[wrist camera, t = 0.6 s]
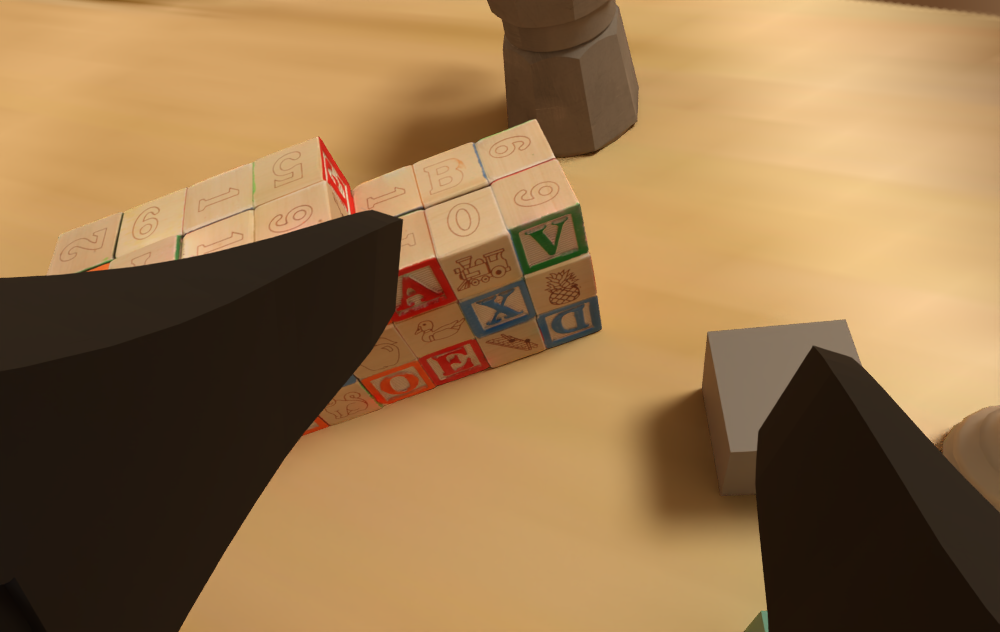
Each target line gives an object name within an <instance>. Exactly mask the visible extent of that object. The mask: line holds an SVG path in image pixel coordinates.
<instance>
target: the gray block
mask: <svg viewBox="0 0 1000 632" xmlns="http://www.w3.org/2000/svg"><path fill="white" fill-rule="evenodd" d="M812 346H817V347H820V348H823V349H826V350H830V351H833V352H836V353H839V354H843V355H846V356H849V357H852V358H853V359H854V360H855V361H857V362H858V363H859V364H860V365H861V362H860V359H859V356H858V354H857V351H856V348H855V345H854V342H853V339H852V337H851V334H850V331H849V328H848V325H847V322H846V320H834V321H823V322H812V323H801V324H790V325H778V326H767V327H756V328H745V329H734V330H723V331H711V332H707V342H706V352H705V362H704V372H703V382H702V392H703V398H704V403H705V409H706V415H707V420H708V426H709V432H710V438H711V443H712V449H713V455H714V461H715V466H716V472H717V478H718V484H719V489H720V495H721V496H729V495H756V488H755V476H756V455H757V441H758V431H759V429H760V428H761V426H762V425H763V423H764V421H765V420H766V418H767V417H768V415H769V414H770V412H771V410H772V409H773V407H774V406H775V404H776V403H777V401H778V400H779V398H780V396H781V395H782V393H783V392H784V390H785V389H786V387H787V385H788V384H789V382H790V381H791V379H792V378H793V376H794V374H795V373H796V371H797V370H798V368H799V367H800V365H801V363H802V362H803V360H804V359H805V357H806V356H807V354H808V353H809V351H810V349H811V348H812ZM861 366H862V365H861Z"/></svg>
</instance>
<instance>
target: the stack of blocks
mask: <svg viewBox="0 0 1000 632" xmlns="http://www.w3.org/2000/svg"><path fill="white" fill-rule="evenodd" d="M367 210H375V211H378V212H381V213H385V214H388V215H391V216H394V217H398V218H401V219H403V228H402V239H401V251H400V263H399V274H398V286H397V297H396V309H395V312H394V314H393V316H392V318H391V319H390V321H389V323H388V325H387V326H386V328H385V330H384V331H383V333H382V335H381V336H380V338H379V340H378V341H377V343H376V344H375V346H374V348H373V349H372V351H371V352H370V353H369V355H368V356H367V357H366V358H365V360H364V361H363V362H362V363H361V365H360V366H359V367H358V368H357V370H356V371H355V372H354V373H353V375H352V376H351V377H350V378H349V379H348V381H347V382H346V383H345V384H344V386H343V387H342V388H341V389H340V390H339V392H338V393H337V394H336V395H335V396H334V398H333V399H332V400H331V401H330V402H329V404H328V405H327V406H326V407H325V408H324V410H323V411H322V412H321V413H320V414H319V416H318V417H317V418H316V419H315V421H314V422H313V423H312V424H311V425H310V427H309V428H308V429H307V430H306V431H305V433H304V434H303V435H306V434H309V433H311V432H314V431H317V430H320V429H323V428H326V427H328V426H331V425H335V424H338V423H341V422H344V421H347V420H350V419H353V418H356V417H359V416H362V415H365V414H367V413H370V412H373V411H376V410H379V409H381V408H382V407H383V406H384V405H387V404H390V403H394V402H396V401H398V400H401V399H404V398H407V397H410V396H413V395H416V394H419V393H421V392H424V391H427V390H430V389H433V388H435V387H436V386H437V385H442V384H444V383H447V382H450V381H453V380H457V379H459V378H462V377H465V376H467V375H470V374H473V373H476V372H479V371H482V370H485V369H487V368H488V367H492V368H495V367H498V366H501V365H504V364H506V363H509V362H512V361H515V360H518V359H521V358H524V357H527V356H529V355H532V354H535V353H538V352H541V351H543V350H545V349H547V348H551V347H555V346H558V345H560V344H563V343H566V342H569V341H572V340H574V339H577V338H580V337H583V336H586V335H588V334H591V333H594V332H597V331H599V330H601V329H602V324H601V318H600V311H599V305H598V298H597V295H596V293H597V290H596V283H595V277H594V271H593V265H592V260H591V256H590V253H589V251H588V243H587V238H586V232H585V227H584V222H583V217H582V212H581V207H580V203H579V201H578V199H577V197H576V195H575V193H574V191H573V189H572V187H571V185H570V183H569V181H568V179H567V177H566V176H565V173H564V171H563V169H562V167H561V165H560V163H559V161H558V160H557V159H556V158H555V156H554V154H553V152H552V150H551V147H550V145H549V143H548V141H547V139H546V138H545V136H544V134H543V131H542V130H541V128H540V126H539V124H538V122H537V120H536V119H533V120H529V121H527V122H525V123H522V124H520V125H517V126H515V127H512V128H509V129H507V130H504V131H502V132H499V133H496V134H493V135H491V136H488V137H485V138H483V139H480V140H479V141H478V142H476V143H473V142H470V143H467V144H464V145H461V146H459V147H456V148H453V149H451V150H448V151H445V152H443V153H440V154H437V155H435V156H432V157H429V158H426V159H424V160H421V161H419V162H416V163H415V164H413V165H408V166H405V167H402V168H399V169H397V170H394V171H391V172H389V173H386V174H384V175H381V176H379V177H376V178H374V179H371V180H369V181H366V182H364V183H361V184H360V185H358V186H357V187H355V188H354V189H353V190H352V191H351V190H350V186H349V184H348V182H347V180H346V178H345V177H344V175H343V174H342V172H341V171H340V169H339V168H338V166H337V164H336V163H335V161H334V160H333V158H332V156H331V154H330V153H329V151H328V150H327V148H326V146H325V145H324V143H323V141H322V140H321V139H320V137H315V138H312V139H309V140H307V141H304V142H301V143H299V144H296V145H293V146H291V147H288V148H285V149H283V150H280V151H278V152H275V153H272V154H270V155H267V156H265V157H262V158H260V159H257V160H256V161H254V162H253V163H248V164H245V165H242V166H239V167H236V168H234V169H231V170H229V171H226V172H224V173H221V174H219V175H216V176H214V177H211V178H208V179H205V180H203V181H200V182H198V183H196V184H194V185H192V186H191V187H189V188H187V187H186V188H183V189H180V190H177V191H175V192H172V193H170V194H167V195H165V196H162V197H160V198H157V199H154V200H152V201H149V202H147V203H144V204H141V205H139V206H136V207H133V208H131V209H129V210H127V211H125V212H124V213H122V212H118V213H115V214H112V215H109V216H106V217H104V218H101V219H99V220H96V221H94V222H91V223H88V224H86V225H83V226H80V227H77V228H75V229H72V230H69V231H66V232H64V233H63V234H61V235H60V236H59V237H58V240H57V244H56V247H55V250H54V253H53V257H52V260H51V263H50V266H49V269H48V272H47V275H60V274H70V273H79V272H89V271H98V270H107V269H117V268H126V267H134V266H141V265H148V264H154V263H160V262H166V261H172V260H178V259H183V258H188V257H193V256H198V255H203V254H208V253H212V252H217V251H221V250H225V249H229V248H233V247H237V246H240V245H244V244H248V243H252V242H256V241H260V240H264V239H268V238H272V237H275V236H279V235H282V234H286V233H289V232H292V231H296V230H299V229H302V228H306V227H309V226H313V225H316V224H319V223H323V222H326V221H329V220H333V219H336V218H339V217H343V216H346V215H350V214H354V213H358V212H362V211H367ZM47 275H46V276H47ZM303 435H302V436H303Z"/></svg>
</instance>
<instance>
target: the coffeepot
mask: <svg viewBox="0 0 1000 632" xmlns="http://www.w3.org/2000/svg"><path fill="white" fill-rule="evenodd" d="M487 1H488V4H489V6H490V9H491V11H492V13H494V14H495V15H496V16H498V17H499V18H501V19H502V22H503V27H504V31H505V35H504V43H503V57H504V71H505V85H506V99H507V114H508V128H512V127H515V126H517V125H520V124H522V123H525V122H527V121H529V120H533V119H536V120H537V122H538V124H539V126H540V128H541V130H542V131H543V134H544V136H545V138H546V139H547V141H548V143H549V145H550V147H551V150H552V152H553V154H554V156H555V157H571V156H578V155H583V154H587V153H590V152H594V151H597V150H599V149H601V148H603V147H606V146H607V145H609V144H611V143H612V142H614V141H616V140H617V139H618V138H620V137H621V136H622V135H623V134H624V133H626V131H627V130H628V129H629V128H630V126H631V125H633V124H634V123H636V122H637V113H638V90H639V87H638V82H637V78H636V74H635V70H634V66H633V62H632V58H631V54H630V50H629V46H628V42H627V38H626V34H625V30H624V26H623V22H622V18H621V14H620V10H619V7H618V6H617V5H616V3H615V0H487Z"/></svg>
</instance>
